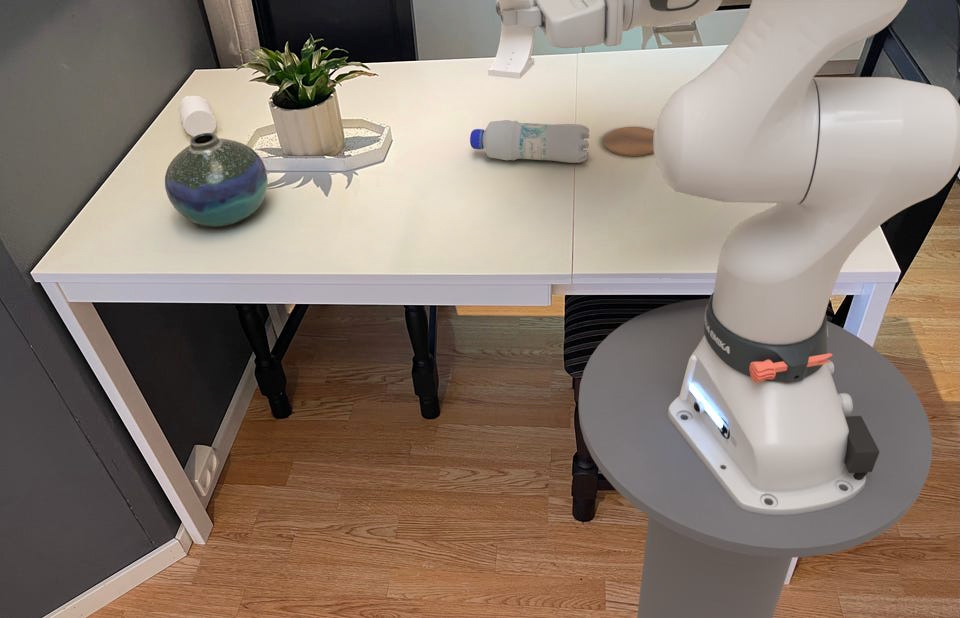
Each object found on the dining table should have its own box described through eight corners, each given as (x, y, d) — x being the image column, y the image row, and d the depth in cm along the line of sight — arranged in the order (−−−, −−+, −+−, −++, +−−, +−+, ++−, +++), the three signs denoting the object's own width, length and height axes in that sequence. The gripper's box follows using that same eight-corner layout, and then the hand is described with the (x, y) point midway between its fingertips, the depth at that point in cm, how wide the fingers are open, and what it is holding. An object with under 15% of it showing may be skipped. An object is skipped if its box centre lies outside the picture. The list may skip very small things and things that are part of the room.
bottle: (586, 173, 131) (468, 166, 135) (589, 146, 135) (475, 141, 139) (586, 141, 126) (464, 135, 129) (590, 114, 130) (471, 109, 133)
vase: (293, 196, 130) (275, 122, 121) (236, 248, 119) (211, 170, 111) (219, 182, 135) (196, 110, 127) (158, 230, 124) (128, 155, 116)
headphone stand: (488, 75, 105) (480, -19, 97) (506, 58, 109) (500, -33, 101) (520, 79, 103) (514, -17, 95) (537, 61, 107) (533, -31, 100)
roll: (211, 109, 158) (202, 83, 155) (220, 133, 150) (211, 106, 146) (180, 116, 157) (171, 89, 153) (187, 141, 148) (178, 113, 144)
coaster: (671, 151, 133) (671, 149, 132) (613, 160, 132) (613, 158, 132) (651, 125, 140) (651, 123, 140) (596, 133, 140) (596, 131, 139)
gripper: (580, -48, 111) (483, -35, 109) (626, -1, 95) (513, 14, 94) (580, -2, 115) (486, 10, 114) (623, 50, 99) (516, 65, 98)
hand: (499, 13), depth 104 cm, fingers closed on headphone stand, 2 cm apart
